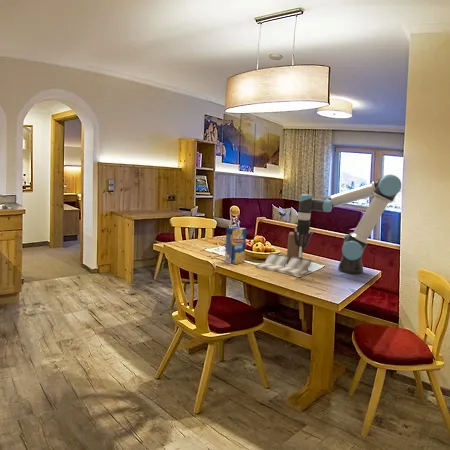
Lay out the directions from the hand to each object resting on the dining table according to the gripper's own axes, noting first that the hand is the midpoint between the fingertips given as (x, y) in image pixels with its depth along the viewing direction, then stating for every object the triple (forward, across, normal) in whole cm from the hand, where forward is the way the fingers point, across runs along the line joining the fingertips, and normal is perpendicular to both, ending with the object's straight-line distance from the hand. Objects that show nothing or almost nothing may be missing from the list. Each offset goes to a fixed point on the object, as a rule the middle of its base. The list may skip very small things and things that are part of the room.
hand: (300, 256), depth 250 cm
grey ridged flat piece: (+5, +15, +2) cm, 16 cm away
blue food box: (+9, +40, +13) cm, 43 cm away
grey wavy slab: (+5, 0, +2) cm, 5 cm away
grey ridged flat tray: (+8, +7, +12) cm, 16 cm away
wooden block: (+8, +9, -15) cm, 19 cm away
